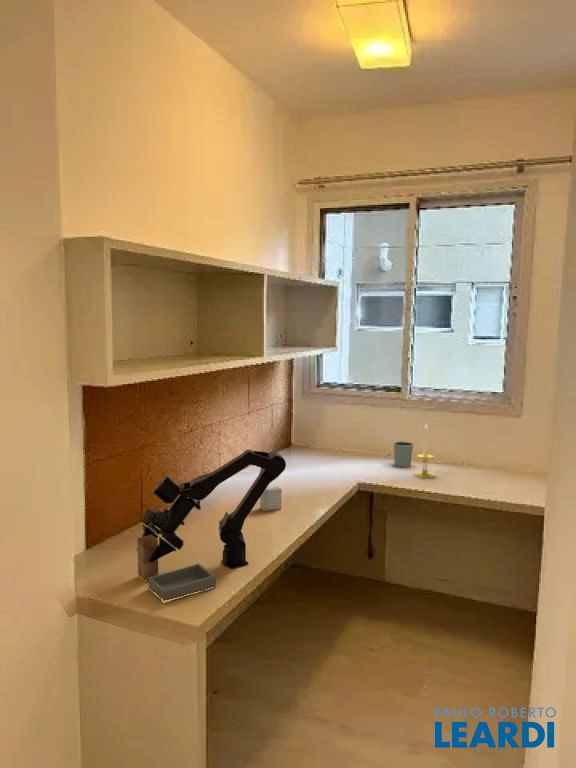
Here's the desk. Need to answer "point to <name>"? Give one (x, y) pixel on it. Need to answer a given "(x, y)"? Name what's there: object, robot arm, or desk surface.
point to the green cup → (403, 454)
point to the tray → (181, 582)
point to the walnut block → (147, 557)
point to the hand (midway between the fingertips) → (143, 556)
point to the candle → (425, 456)
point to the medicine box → (271, 499)
